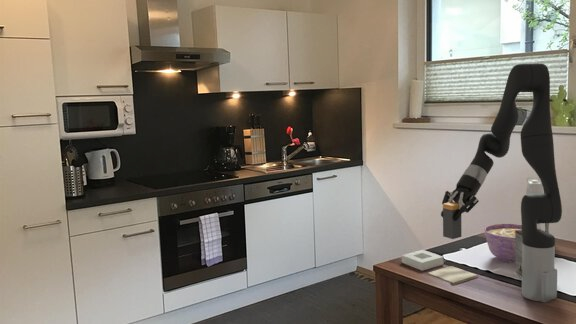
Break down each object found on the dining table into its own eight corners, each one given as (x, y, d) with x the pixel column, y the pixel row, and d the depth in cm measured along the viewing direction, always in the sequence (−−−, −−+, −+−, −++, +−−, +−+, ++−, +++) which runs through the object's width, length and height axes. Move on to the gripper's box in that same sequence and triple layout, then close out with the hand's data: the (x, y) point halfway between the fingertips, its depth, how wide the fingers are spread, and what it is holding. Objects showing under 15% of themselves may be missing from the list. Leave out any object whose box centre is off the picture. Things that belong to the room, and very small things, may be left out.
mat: (477, 277, 181) (477, 275, 180) (453, 284, 175) (453, 282, 175) (451, 267, 191) (451, 265, 191) (428, 274, 185) (427, 272, 185)
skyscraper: (534, 244, 212) (535, 179, 208) (519, 239, 220) (520, 176, 216) (550, 242, 215) (551, 177, 211) (535, 237, 223) (536, 174, 219)
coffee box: (539, 271, 183) (540, 228, 181) (549, 278, 176) (550, 233, 174) (514, 273, 183) (515, 230, 180) (523, 279, 176) (523, 235, 174)
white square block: (443, 265, 194) (443, 256, 193) (422, 271, 188) (422, 262, 188) (422, 258, 203) (422, 249, 203) (401, 263, 198) (401, 255, 198)
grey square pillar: (461, 236, 180) (461, 203, 178) (452, 239, 178) (452, 205, 176) (451, 234, 184) (451, 201, 182) (443, 236, 182) (442, 203, 180)
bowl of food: (528, 250, 206) (529, 223, 204) (549, 267, 186) (549, 237, 184) (477, 251, 208) (477, 224, 206) (492, 268, 188) (492, 238, 186)
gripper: (451, 171, 188) (427, 208, 183) (483, 176, 175) (458, 216, 171) (461, 183, 191) (438, 220, 187) (493, 189, 178) (469, 228, 174)
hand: (448, 218), depth 179 cm, fingers closed on grey square pillar, 4 cm apart
